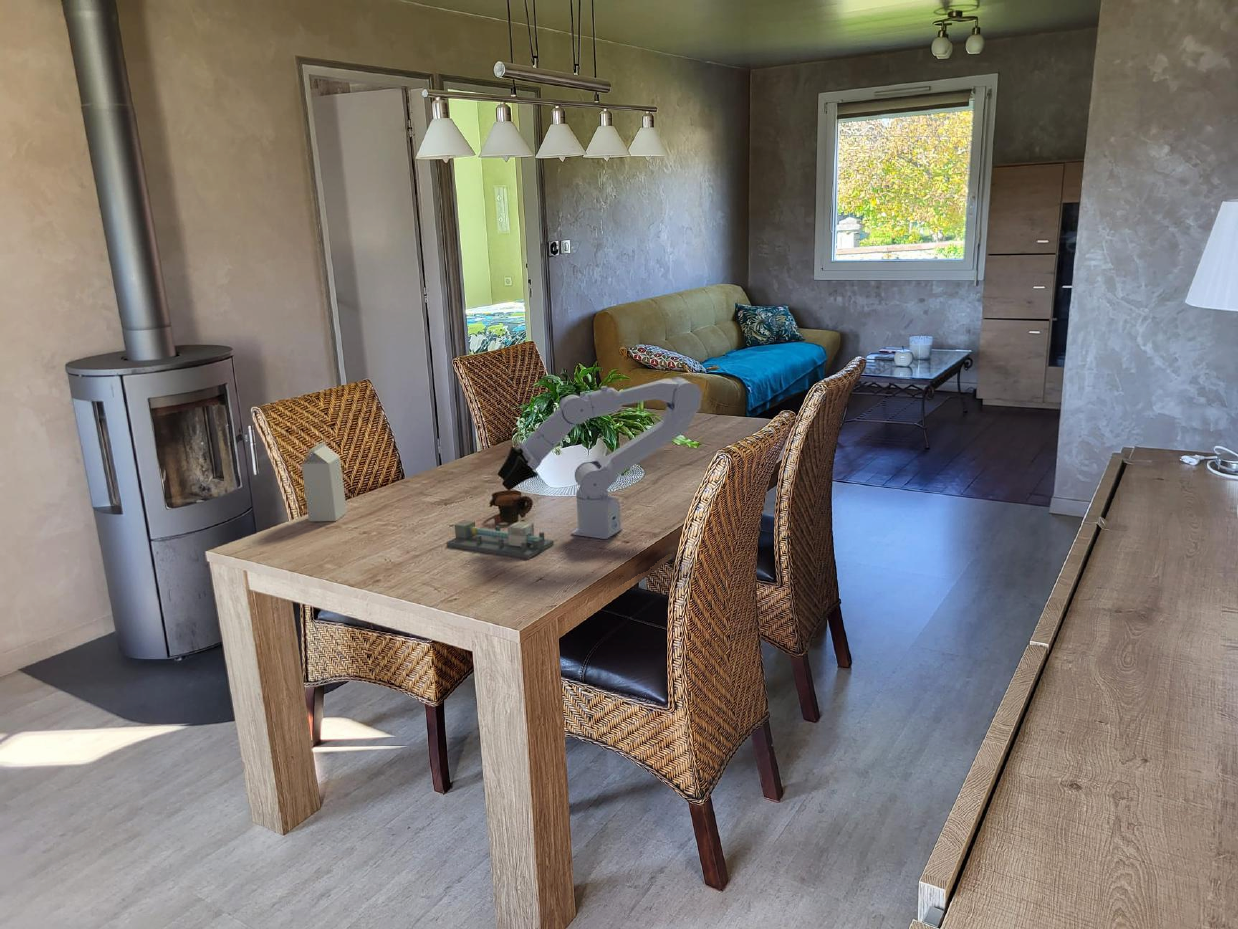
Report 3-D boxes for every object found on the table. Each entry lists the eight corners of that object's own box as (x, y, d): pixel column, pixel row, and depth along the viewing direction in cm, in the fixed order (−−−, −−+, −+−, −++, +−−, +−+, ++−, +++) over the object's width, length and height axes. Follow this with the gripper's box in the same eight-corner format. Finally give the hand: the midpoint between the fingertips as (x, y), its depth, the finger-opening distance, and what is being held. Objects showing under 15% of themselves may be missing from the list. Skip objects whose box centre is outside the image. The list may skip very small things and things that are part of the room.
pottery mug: (482, 526, 220) (480, 493, 223) (504, 532, 229) (501, 500, 231) (525, 517, 216) (523, 483, 218) (545, 523, 224) (543, 491, 226)
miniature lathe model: (553, 544, 203) (552, 527, 202) (528, 559, 195) (526, 541, 194) (474, 532, 214) (472, 516, 213) (447, 546, 205) (445, 528, 204)
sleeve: (534, 540, 202) (533, 523, 201) (523, 547, 198) (522, 528, 197) (519, 538, 204) (518, 521, 203) (508, 544, 200) (507, 526, 199)
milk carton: (347, 513, 234) (338, 440, 229) (336, 521, 227) (326, 447, 222) (320, 513, 235) (311, 441, 230) (308, 522, 228) (298, 448, 223)
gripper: (527, 419, 208) (486, 461, 209) (538, 434, 195) (494, 480, 195) (549, 439, 211) (508, 481, 211) (561, 455, 198) (517, 500, 198)
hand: (503, 482), depth 204 cm, fingers open, 7 cm apart
